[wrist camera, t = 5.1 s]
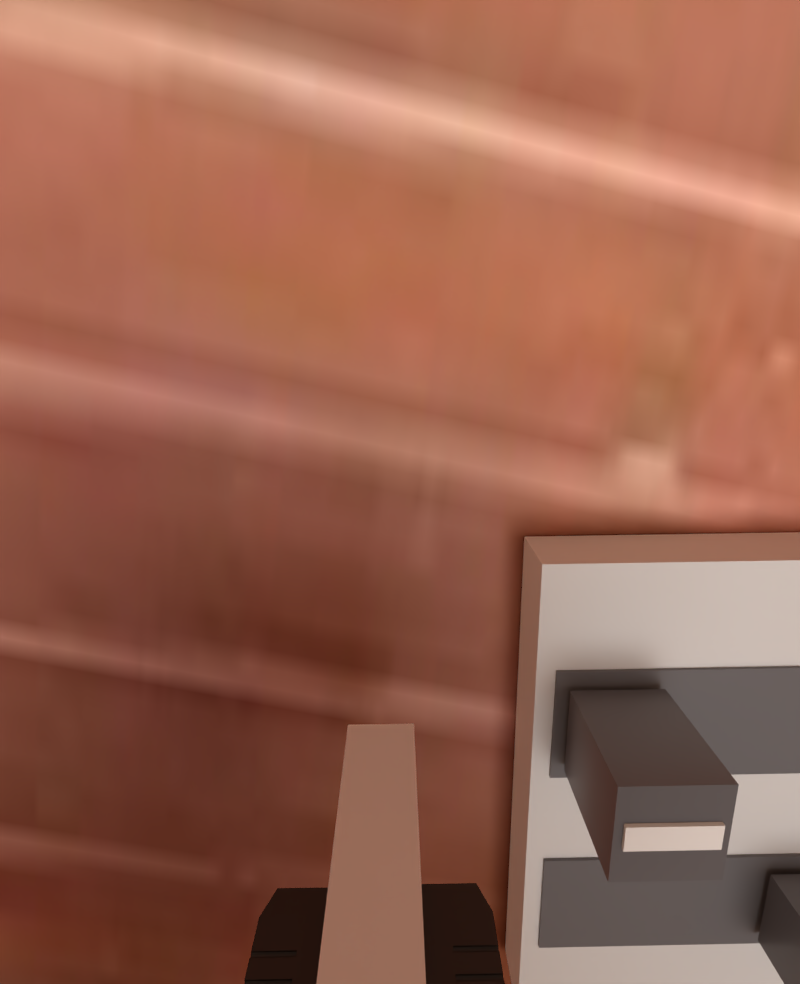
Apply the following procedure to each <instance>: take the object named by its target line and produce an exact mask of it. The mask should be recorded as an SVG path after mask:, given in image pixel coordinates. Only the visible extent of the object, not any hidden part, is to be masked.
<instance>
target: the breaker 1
mask: <svg viewBox="0 0 800 984" xmlns="http://www.w3.org/2000/svg"><path fill="white" fill-rule="evenodd" d="M564 771H565V774H566V776H567V779H568V781H569V784H570V786H571V789H572V791H573V794H574V797H575V799H576V802H577V804H578V807H579V809H580V812H581V814H582V817H583V819H584V822H585V825H586V827H587V830H588V832H589V835H590V837H591V840H592V842H593V845H594V848H595V850H596V853H597V855H598V858H599V860H600V863H601V865H602V868H603V870H604V873H605V876H606V878H607V881H608V882H649V881H699V880H723V875H724V869H725V863H726V857H727V851H728V845H729V839H730V833H731V827H732V822H733V816H734V810H735V804H736V798H737V792H738V786H739V784H738V783H737V782H736V780H735V779H734V778H733V776H732V775H731V774H730V773H729V771H728V770H727V769H726V767H725V766H724V765H723V763H722V762H721V761H720V759H719V758H718V757H717V756H716V754H715V753H714V752H713V750H712V749H711V748H710V746H709V745H708V744H707V743H706V741H705V740H704V739H703V737H702V736H701V735H700V733H699V732H698V731H697V730H696V728H695V727H694V726H693V724H692V723H691V722H690V720H689V719H688V718H687V717H686V715H685V714H684V713H683V711H682V710H681V709H680V707H679V706H678V705H677V704H676V702H675V701H674V700H673V698H672V697H671V696H670V694H669V693H668V692H667V691H666V689H639V690H582V691H570V701H569V715H568V728H567V742H566V755H565V769H564Z"/></svg>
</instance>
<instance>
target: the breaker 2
mask: <svg viewBox="0 0 800 984" xmlns="http://www.w3.org/2000/svg"><path fill="white" fill-rule="evenodd" d="M758 941H759V943H760V945H761V946H762V948H763V950H764V951H765V953H766V955H767V956H768V958H769V959H770V961H771V963H772V964H773V966H774V968H775V969H776V971H777V973H778V974H779V976H780V978H781V979H782V981H783V983H784V984H800V874H779V875H770V880H769V885H768V891H767V896H766V901H765V906H764V911H763V916H762V921H761V926H760V931H759V936H758Z"/></svg>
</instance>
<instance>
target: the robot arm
mask: <svg viewBox="0 0 800 984" xmlns="http://www.w3.org/2000/svg"><path fill="white" fill-rule="evenodd" d="M245 984H505V983H504V980H503V971H502V965H501V959H500V953H499V950H498V941H497V935H496V929H495V923H494V917H493V911H492V910H491V908H490V906H489V905H488V903H487V901H486V899H485V898H484V896H483V894H482V893H481V891H480V889H479V887H478V886H477V884H476V883H467V884H421V865H420V843H419V821H418V800H417V778H416V757H415V735H414V724H359V725H348V728H347V736H346V745H345V753H344V761H343V769H342V777H341V786H340V794H339V802H338V810H337V818H336V827H335V835H334V843H333V851H332V859H331V868H330V876H329V884H328V888H278V889H277V890H276V892H275V893H274V895H273V897H272V898H271V900H270V901H269V903H268V904H267V906H266V908H265V909H264V911H263V912H262V914H261V915H260V917H259V921H258V925H257V929H256V933H255V938H254V942H253V946H252V951H251V958H250V959H249V963H248V968H247V972H246V976H245Z"/></svg>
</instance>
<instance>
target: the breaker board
mask: <svg viewBox="0 0 800 984" xmlns="http://www.w3.org/2000/svg"><path fill="white" fill-rule="evenodd" d="M639 689H666V691H667V692H668V693H669V694H670V696H671V697H672V698H673V700H674V701H675V702H676V704H677V705H678V706H679V707H680V709H681V710H682V711H683V713H684V714H685V715H686V717H687V718H688V719H689V720H690V722H691V723H692V724H693V726H694V727H695V728H696V730H697V731H698V732H699V733H700V735H701V736H702V737H703V739H704V740H705V741H706V743H707V744H708V745H709V746H710V748H711V749H712V750H713V752H714V753H715V754H716V756H717V757H718V758H719V759H720V761H721V762H722V763H723V765H724V766H725V767H726V769H727V770H728V771H729V773H730V774H731V775H732V776H733V778H734V779H735V780H736V782H737V783H738V784H739V786H738V792H737V798H736V804H735V810H734V816H733V822H732V827H731V833H730V839H729V845H728V851H727V857H726V863H725V869H724V875H723V880H699V881H649V882H608V881H607V878H606V876H605V873H604V870H603V868H602V865H601V863H600V860H599V858H598V855H597V853H596V850H595V848H594V845H593V842H592V840H591V837H590V835H589V832H588V830H587V827H586V825H585V822H584V819H583V817H582V814H581V812H580V809H579V807H578V804H577V802H576V799H575V797H574V794H573V791H572V789H571V786H570V784H569V781H568V779H567V776H566V774H565V771H564V769H565V755H566V742H567V728H568V715H569V701H570V691H582V690H639ZM779 874H800V532H779V533H716V534H652V535H589V536H526V537H524V553H523V574H522V596H521V618H520V640H519V661H518V683H517V705H516V727H515V748H514V770H513V792H512V813H511V835H510V857H509V879H508V900H507V922H506V944H505V951H506V956H507V962H508V967H509V973H510V978H511V984H784V983H783V981H782V979H781V978H780V976H779V974H778V973H777V971H776V969H775V968H774V966H773V964H772V963H771V961H770V959H769V958H768V956H767V955H766V953H765V951H764V950H763V948H762V946H761V945H760V943H759V941H758V936H759V931H760V926H761V921H762V916H763V911H764V906H765V901H766V896H767V891H768V885H769V880H770V875H779Z"/></svg>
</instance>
